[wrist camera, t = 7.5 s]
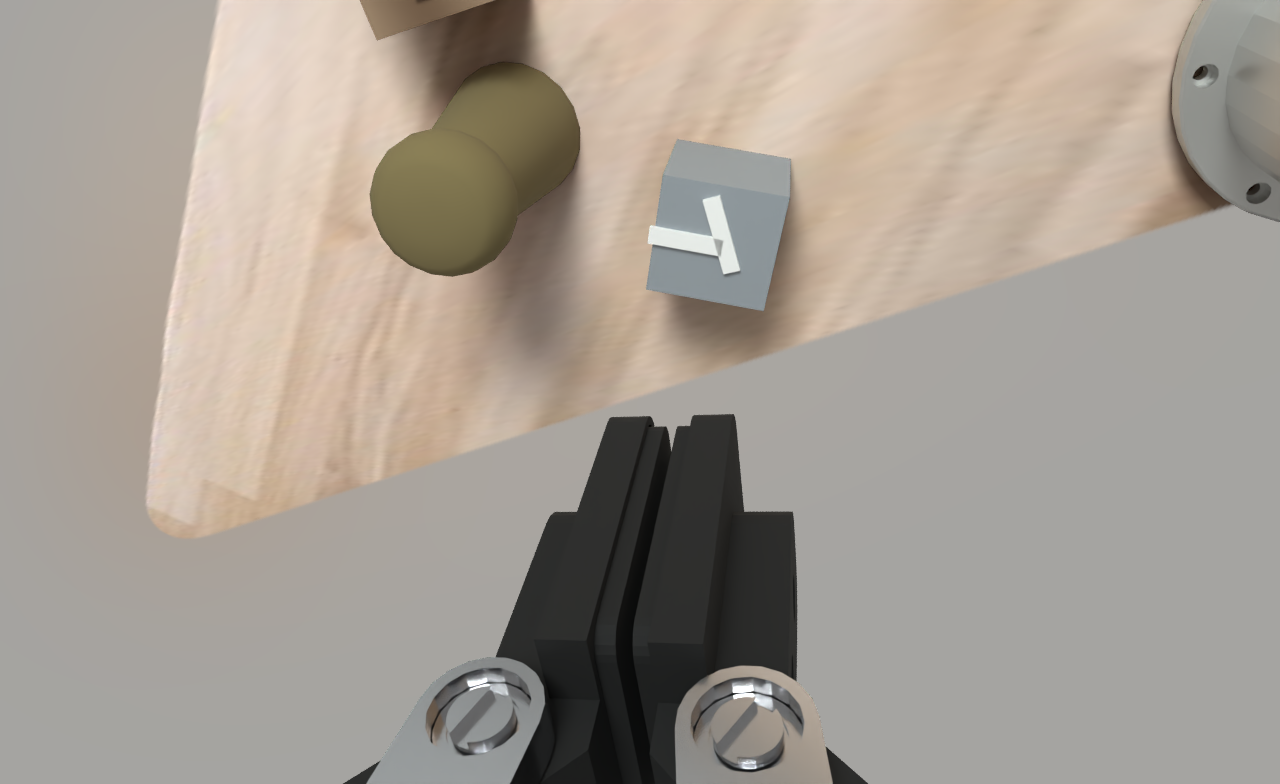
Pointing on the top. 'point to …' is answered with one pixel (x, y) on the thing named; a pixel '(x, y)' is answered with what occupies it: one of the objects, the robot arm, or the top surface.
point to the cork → (475, 170)
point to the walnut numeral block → (410, 13)
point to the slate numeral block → (718, 224)
